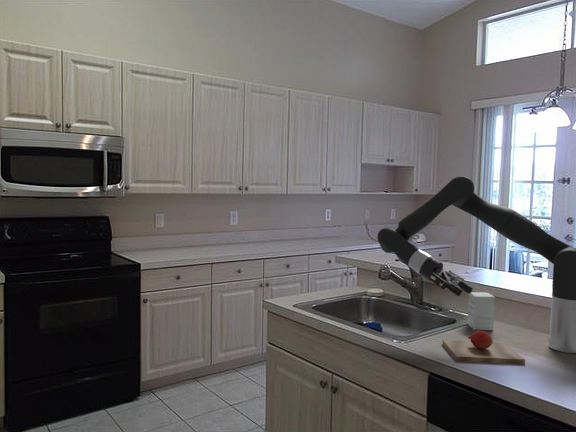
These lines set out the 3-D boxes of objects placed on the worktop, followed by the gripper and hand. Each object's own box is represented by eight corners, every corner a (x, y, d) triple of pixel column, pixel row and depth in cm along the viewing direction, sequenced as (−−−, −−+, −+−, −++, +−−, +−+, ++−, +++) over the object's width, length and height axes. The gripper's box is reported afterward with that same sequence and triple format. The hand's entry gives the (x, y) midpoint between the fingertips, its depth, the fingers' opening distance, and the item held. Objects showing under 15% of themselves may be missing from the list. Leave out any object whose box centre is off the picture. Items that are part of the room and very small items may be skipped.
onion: (495, 353, 149) (471, 346, 155) (499, 335, 150) (475, 329, 156) (486, 350, 145) (462, 343, 151) (490, 331, 146) (466, 326, 152)
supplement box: (486, 324, 183) (488, 292, 182) (493, 330, 175) (495, 296, 174) (466, 324, 183) (468, 291, 182) (473, 329, 176) (475, 296, 175)
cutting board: (504, 347, 157) (504, 342, 157) (524, 364, 142) (525, 359, 142) (442, 344, 158) (442, 340, 158) (456, 361, 143) (457, 356, 143)
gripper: (420, 256, 157) (463, 284, 148) (439, 255, 168) (480, 281, 158) (410, 275, 160) (451, 304, 150) (429, 272, 170) (469, 299, 161)
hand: (466, 292), depth 154 cm, fingers open, 8 cm apart
